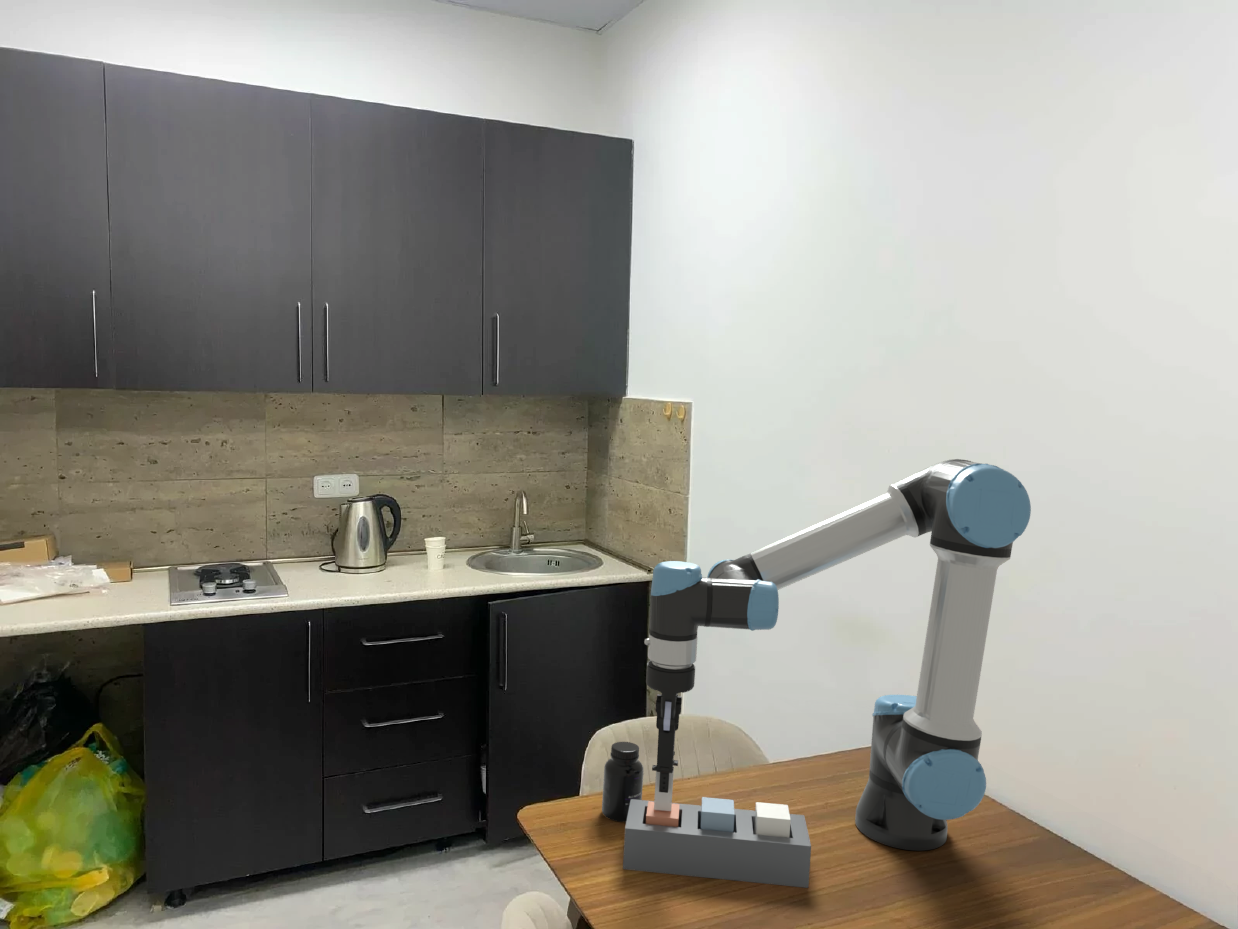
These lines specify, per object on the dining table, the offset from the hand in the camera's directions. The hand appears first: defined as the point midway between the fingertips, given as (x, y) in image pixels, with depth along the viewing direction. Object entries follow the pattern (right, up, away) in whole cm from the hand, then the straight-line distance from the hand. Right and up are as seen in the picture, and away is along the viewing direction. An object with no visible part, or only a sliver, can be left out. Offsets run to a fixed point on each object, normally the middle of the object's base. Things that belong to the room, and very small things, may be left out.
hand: (662, 808), depth 142 cm
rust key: (0, -5, 0) cm, 5 cm away
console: (+8, -8, 0) cm, 12 cm away
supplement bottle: (-7, -7, +14) cm, 17 cm away
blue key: (+8, -4, 0) cm, 9 cm away
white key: (+17, -5, -1) cm, 17 cm away
